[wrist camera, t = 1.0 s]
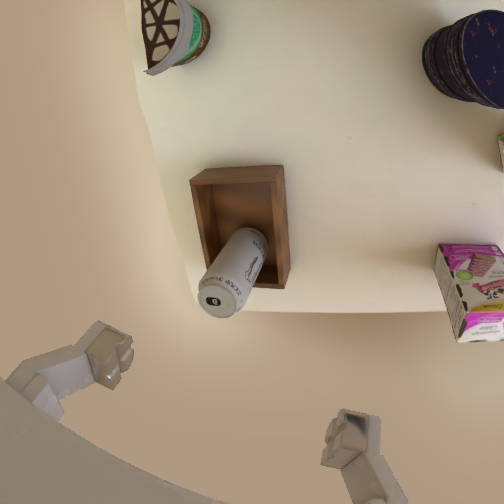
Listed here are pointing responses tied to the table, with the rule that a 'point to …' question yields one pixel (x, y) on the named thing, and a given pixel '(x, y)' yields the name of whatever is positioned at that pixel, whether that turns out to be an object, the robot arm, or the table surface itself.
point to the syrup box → (501, 148)
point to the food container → (172, 33)
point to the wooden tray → (244, 214)
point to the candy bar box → (472, 290)
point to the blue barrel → (469, 59)
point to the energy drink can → (233, 273)
